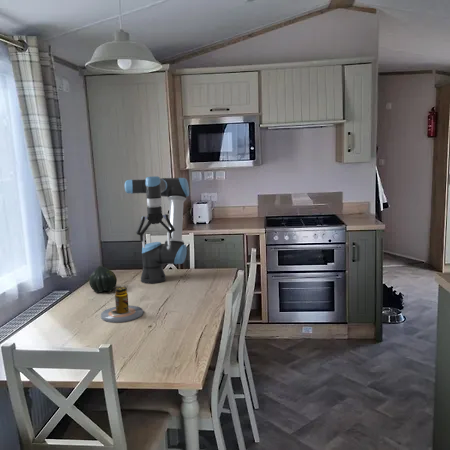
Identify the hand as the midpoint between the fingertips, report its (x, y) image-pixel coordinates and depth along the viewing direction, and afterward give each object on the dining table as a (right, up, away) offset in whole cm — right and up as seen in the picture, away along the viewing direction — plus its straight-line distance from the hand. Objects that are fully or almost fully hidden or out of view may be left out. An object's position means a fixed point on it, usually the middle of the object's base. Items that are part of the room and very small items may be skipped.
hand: (156, 246), depth 240 cm
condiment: (-15, -32, -20) cm, 40 cm away
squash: (-34, -27, +21) cm, 48 cm away
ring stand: (-14, -33, -19) cm, 40 cm away
